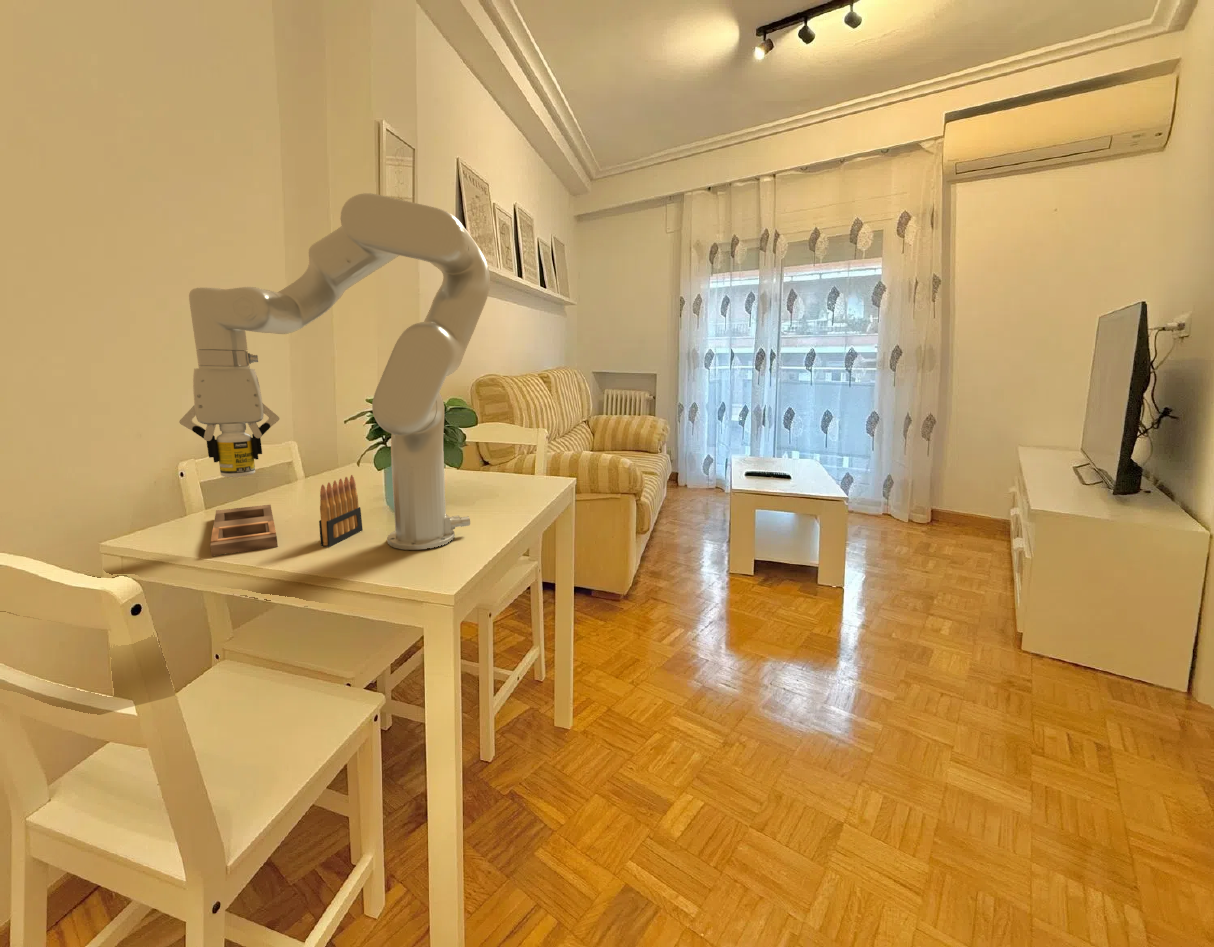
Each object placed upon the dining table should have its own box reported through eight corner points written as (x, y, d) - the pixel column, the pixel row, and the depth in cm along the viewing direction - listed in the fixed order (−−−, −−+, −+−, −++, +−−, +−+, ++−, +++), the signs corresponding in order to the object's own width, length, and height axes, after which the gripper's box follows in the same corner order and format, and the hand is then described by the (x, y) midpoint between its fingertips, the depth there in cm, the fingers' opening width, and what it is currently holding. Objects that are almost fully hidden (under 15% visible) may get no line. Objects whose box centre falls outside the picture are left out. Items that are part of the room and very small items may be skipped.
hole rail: (271, 513, 120) (270, 503, 119) (277, 546, 99) (276, 535, 98) (217, 519, 114) (215, 509, 114) (211, 556, 93) (210, 544, 93)
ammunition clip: (329, 547, 99) (323, 485, 97) (320, 546, 99) (314, 485, 97) (362, 530, 110) (358, 474, 107) (354, 529, 110) (350, 473, 107)
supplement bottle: (238, 478, 96) (231, 424, 94) (213, 476, 97) (205, 423, 95) (262, 472, 101) (256, 421, 99) (239, 470, 102) (232, 420, 100)
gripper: (278, 361, 102) (288, 453, 106) (164, 359, 93) (180, 460, 97) (280, 361, 96) (291, 459, 100) (159, 360, 87) (176, 467, 90)
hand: (236, 458), depth 98 cm, fingers closed on supplement bottle, 5 cm apart
